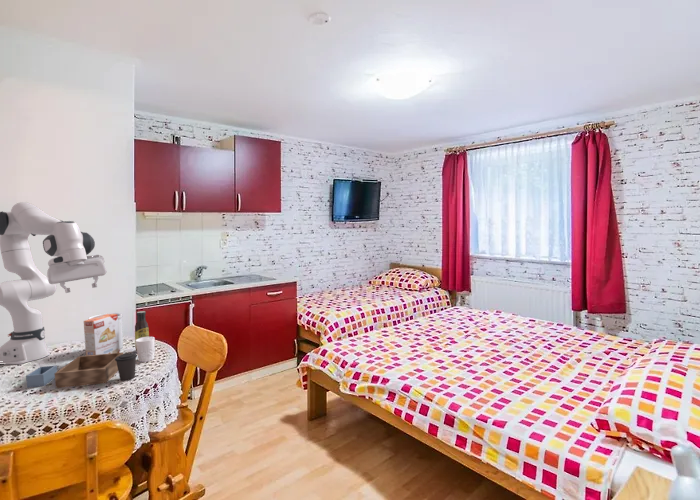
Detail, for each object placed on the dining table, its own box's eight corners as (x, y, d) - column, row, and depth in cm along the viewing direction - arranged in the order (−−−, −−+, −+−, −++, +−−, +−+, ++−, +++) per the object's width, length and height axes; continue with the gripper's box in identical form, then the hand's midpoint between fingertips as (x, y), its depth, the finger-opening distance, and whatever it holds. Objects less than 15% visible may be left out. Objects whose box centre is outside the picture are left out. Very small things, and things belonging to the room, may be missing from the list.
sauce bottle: (139, 353, 191) (137, 314, 190) (133, 351, 194) (130, 312, 193) (152, 349, 197) (149, 311, 195) (145, 347, 200) (143, 310, 198)
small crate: (27, 388, 154) (26, 376, 153) (41, 378, 164) (40, 366, 163) (44, 386, 155) (43, 374, 155) (57, 376, 165) (56, 365, 164)
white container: (103, 344, 207) (101, 312, 206) (130, 344, 206) (128, 312, 205) (83, 354, 192) (80, 319, 191) (112, 353, 192) (109, 319, 190)
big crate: (55, 388, 152) (54, 373, 152) (79, 369, 172) (78, 356, 171) (106, 383, 156) (104, 368, 156) (124, 365, 176) (123, 352, 175)
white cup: (134, 360, 182) (133, 339, 181) (152, 355, 188) (150, 335, 187) (140, 364, 176) (139, 342, 176) (158, 359, 182) (157, 338, 181)
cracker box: (97, 366, 175) (93, 321, 174) (86, 365, 177) (82, 320, 175) (121, 355, 189) (117, 313, 187) (110, 354, 190) (107, 313, 189)
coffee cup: (142, 373, 165) (140, 351, 164) (132, 381, 156) (130, 357, 156) (123, 374, 164) (121, 351, 164) (112, 382, 156) (110, 358, 155)
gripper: (101, 255, 171) (108, 285, 170) (43, 263, 157) (50, 296, 156) (104, 252, 167) (111, 283, 166) (45, 260, 152) (52, 294, 151)
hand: (81, 289), depth 161 cm, fingers open, 8 cm apart
